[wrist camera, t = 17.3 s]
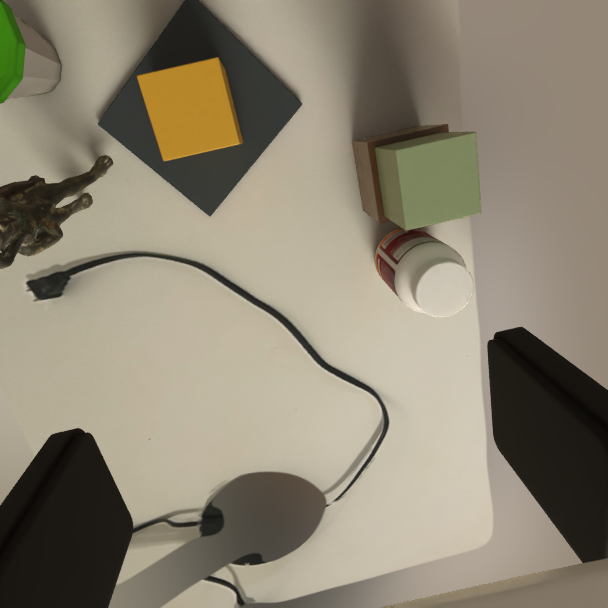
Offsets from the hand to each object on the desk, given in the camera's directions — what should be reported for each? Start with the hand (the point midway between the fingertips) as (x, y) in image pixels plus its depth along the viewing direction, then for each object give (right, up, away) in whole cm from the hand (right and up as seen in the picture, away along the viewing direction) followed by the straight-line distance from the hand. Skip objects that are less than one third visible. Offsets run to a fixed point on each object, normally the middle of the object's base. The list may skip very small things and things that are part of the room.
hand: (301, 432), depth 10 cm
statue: (-18, +14, +30) cm, 38 cm away
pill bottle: (+10, +8, +35) cm, 37 cm away
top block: (-9, +19, +28) cm, 35 cm away
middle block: (+9, +13, +26) cm, 30 cm away
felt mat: (-9, +20, +29) cm, 36 cm away
